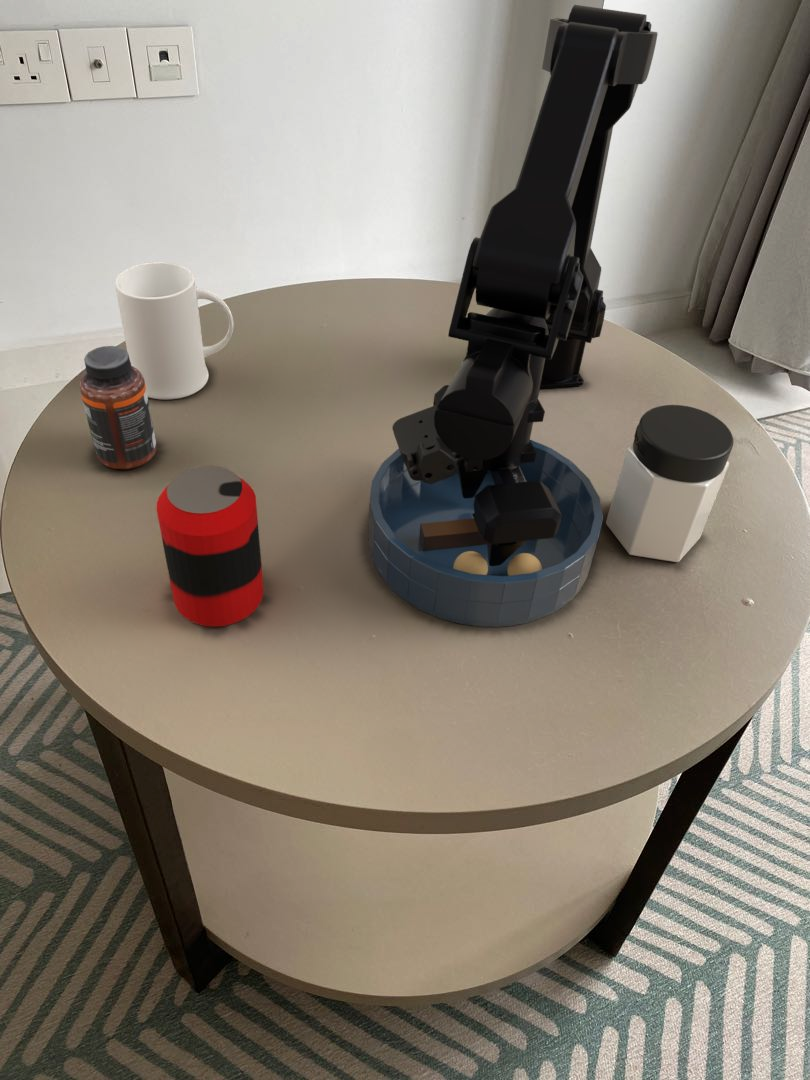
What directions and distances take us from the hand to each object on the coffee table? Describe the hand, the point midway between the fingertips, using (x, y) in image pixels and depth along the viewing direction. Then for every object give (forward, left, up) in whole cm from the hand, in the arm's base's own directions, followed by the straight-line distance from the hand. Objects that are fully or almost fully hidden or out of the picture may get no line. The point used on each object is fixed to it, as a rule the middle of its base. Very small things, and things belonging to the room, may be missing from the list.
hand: (480, 529), depth 80 cm
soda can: (+24, +3, -2) cm, 24 cm away
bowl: (0, 0, -2) cm, 2 cm away
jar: (-17, +1, -2) cm, 17 cm away
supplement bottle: (+32, -18, -2) cm, 37 cm away
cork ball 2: (-2, +6, 0) cm, 6 cm away
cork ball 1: (+2, +5, 0) cm, 6 cm away
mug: (+26, -31, -2) cm, 41 cm away
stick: (0, 0, -1) cm, 1 cm away
